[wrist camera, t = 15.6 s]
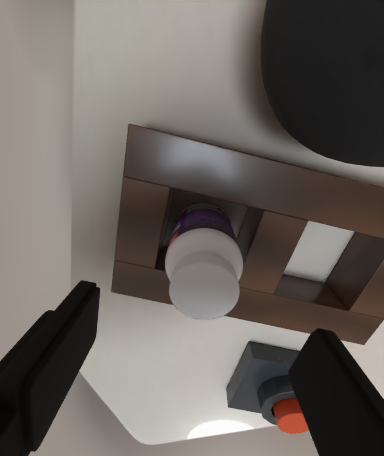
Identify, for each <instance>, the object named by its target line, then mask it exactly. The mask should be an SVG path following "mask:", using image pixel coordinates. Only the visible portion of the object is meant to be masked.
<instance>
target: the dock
mask: <svg viewBox="0 0 384 456" xmlns="http://www.w3.org/2000/svg"><path fill="white" fill-rule="evenodd" d="M174 188H176V189H180V190H184V191H188V192H192V193H196V194H201V195H205V196H209V197H213V198H217V199H222V200H226V201H230V202H234V203H238V204H242V205H247V206H249V209H248V212H247V214H246V217H245V220H244V223H243V226H242V229H241V231H240V234H239V237H238V240H237V243H238V245H239V248H240V251H241V255H242V259H243V270H242V274H241V277H240V279H239V281H238V284H239V298H238V301H237V303H236V305H235V306H234V307H233V309H232V310H231V311H230V312H228V313H227V314H225V315H223V316H228V317H233V318H238V319H243V320H247V321H252V322H257V323H262V324H266V325H271V326H276V327H281V328H285V329H290V330H295V331H300V332H305V333H309V334H311V333H312V332H313V331H315V330H316V329H317V328H321V329H326V330H331V331H333V332H334V333H335V334H336V335H337V336H338V338H339V339H340V340H343V341H348V342H352V343H357V344H362V345H364V344H365V343H366V342H367V341H368V339H369V338H370V337H371V336H372V334H373V333H374V332H375V330H376V329H377V328H378V327H379V325H380V324H381V323H382V322H383V320H384V188H382V187H378V186H374V185H370V184H366V183H362V182H358V181H354V180H350V179H346V178H342V177H338V176H335V175H331V174H327V173H323V172H319V171H315V170H311V169H307V168H303V167H299V166H295V165H291V164H287V163H283V162H279V161H275V160H271V159H267V158H263V157H259V156H255V155H252V154H248V153H244V152H240V151H236V150H232V149H228V148H224V147H220V146H216V145H212V144H208V143H204V142H200V141H196V140H192V139H188V138H184V137H180V136H176V135H172V134H169V133H165V132H161V131H157V130H153V129H149V128H145V127H141V126H137V125H133V124H129V125H128V134H127V144H126V153H125V163H124V173H123V182H122V192H121V201H120V211H119V221H118V230H117V240H116V250H115V260H114V269H113V279H112V288H111V292H114V293H118V294H123V295H128V296H133V297H138V298H142V299H147V300H152V301H157V302H161V303H166V304H171V305H173V303H172V301H171V299H170V295H169V286H170V280H169V278H168V276H167V273H166V269H165V258H166V254H167V250H168V249H167V248H162V247H163V242H164V237H165V232H166V227H167V222H168V217H169V212H170V207H171V202H172V197H173V192H174ZM308 220H309V221H313V222H318V223H322V224H326V225H330V226H334V227H338V228H343V229H347V230H351V231H355V233H354V235H353V237H352V239H351V240H350V242H349V244H348V245H347V247H346V249H345V250H344V252H343V254H342V256H341V257H340V259H339V261H338V262H337V264H336V266H335V268H334V269H333V271H332V273H331V274H330V276H329V278H328V279H327V281H326V283H325V284H323V283H319V282H314V281H310V280H306V279H301V278H297V277H292V276H288V275H283V272H284V270H285V268H286V266H287V264H288V262H289V260H290V258H291V256H292V254H293V252H294V250H295V247H296V245H297V243H298V241H299V239H300V237H301V235H302V233H303V231H304V229H305V227H306V225H307V222H308Z"/></svg>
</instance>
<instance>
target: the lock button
mask: <svg viewBox="0 0 384 456" xmlns="http://www.w3.org/2000/svg"><path fill="white" fill-rule="evenodd" d="M273 411H274V414H275V418H276V422H277V425H278V427H279V429H280V430H282V431H284V432H286V433H302V432H305V431H307V430H309V429H308V426H307V424H306V421H305V419H304V416H303V413H302V411H301V408H300V406H299V403H298V401H297V398H288V399H282V400H280V401H278V402H276V403H275V404H274V405H273Z"/></svg>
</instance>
